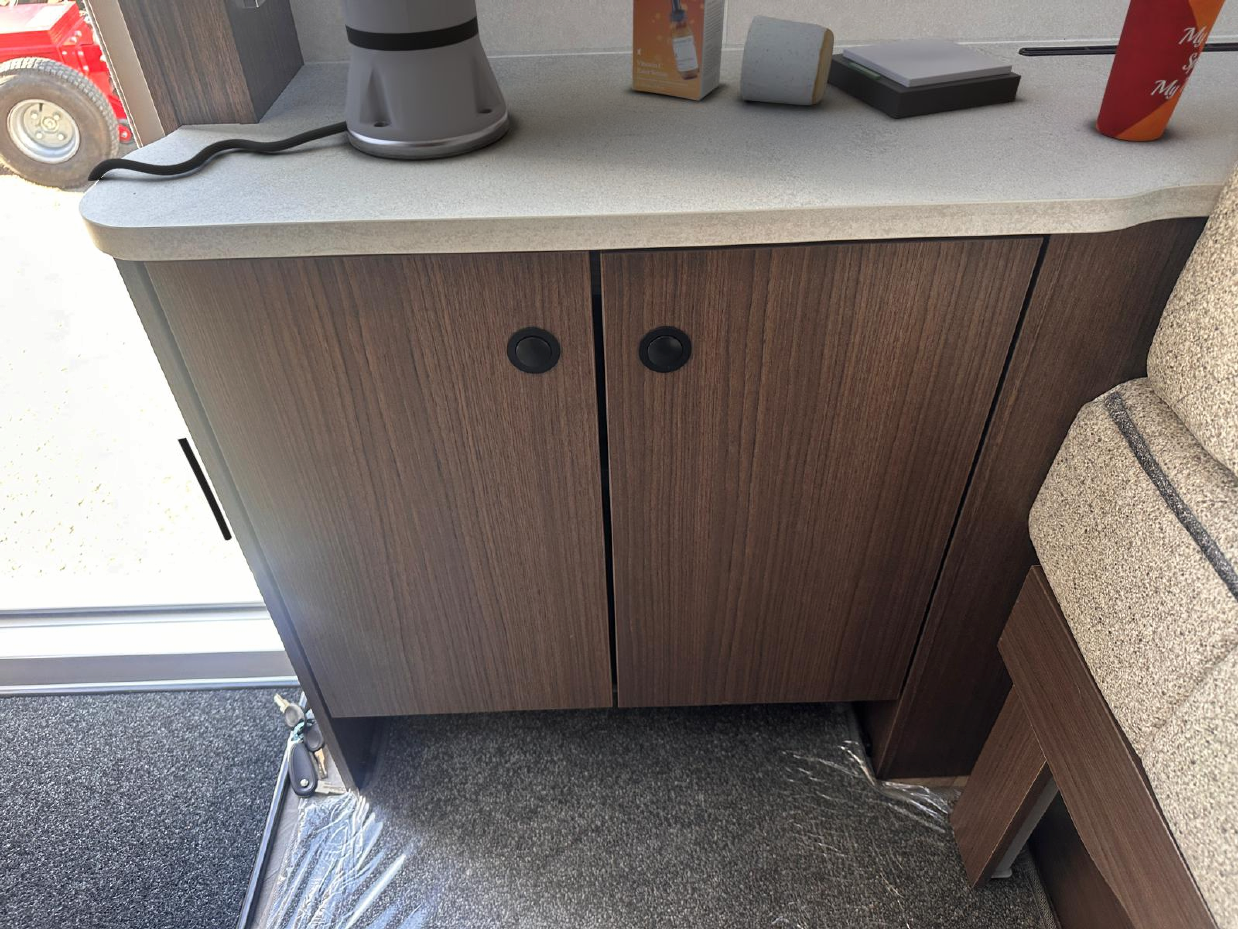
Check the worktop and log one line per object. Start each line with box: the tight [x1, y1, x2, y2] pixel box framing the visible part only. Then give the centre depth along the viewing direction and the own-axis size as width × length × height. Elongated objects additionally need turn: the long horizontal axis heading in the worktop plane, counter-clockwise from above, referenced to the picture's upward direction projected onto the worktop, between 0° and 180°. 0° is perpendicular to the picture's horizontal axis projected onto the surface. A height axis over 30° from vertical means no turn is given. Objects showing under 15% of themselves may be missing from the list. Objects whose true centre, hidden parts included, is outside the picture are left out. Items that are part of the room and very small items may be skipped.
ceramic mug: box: [739, 15, 835, 106], centre depth 84 cm, size 11×8×8 cm
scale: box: [827, 36, 1022, 119], centre depth 87 cm, size 14×14×3 cm
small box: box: [631, 0, 726, 101], centre depth 86 cm, size 8×6×10 cm
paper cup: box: [1095, 0, 1226, 142], centre depth 73 cm, size 8×8×14 cm
